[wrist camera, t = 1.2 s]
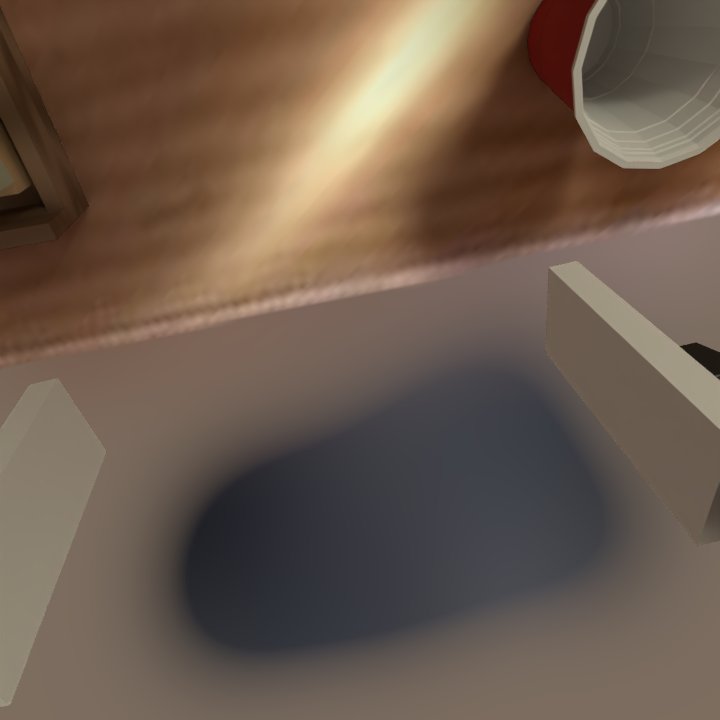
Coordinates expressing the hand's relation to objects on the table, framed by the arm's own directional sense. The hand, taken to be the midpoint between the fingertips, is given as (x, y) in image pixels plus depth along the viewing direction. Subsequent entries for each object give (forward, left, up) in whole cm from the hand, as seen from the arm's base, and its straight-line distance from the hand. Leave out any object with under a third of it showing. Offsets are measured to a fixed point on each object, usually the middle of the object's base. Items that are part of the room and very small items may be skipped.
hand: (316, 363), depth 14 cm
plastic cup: (-4, +19, -25) cm, 32 cm away
